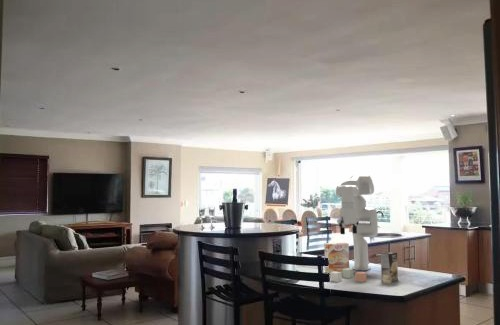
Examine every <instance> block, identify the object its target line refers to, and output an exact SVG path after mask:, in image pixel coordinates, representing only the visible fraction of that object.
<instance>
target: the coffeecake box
mask: <svg viewBox="0 0 500 325" xmlns="http://www.w3.org/2000/svg"><path fill="white" fill-rule="evenodd" d="M323 246H324V258H325V257H326V258H328V260H329V266H328V267H325V266H324V272H325V273H326V274H328V273H331V272H334V271H335V272H341V274H342V269H344V268H350V245H349V243H347V242H325V243H324V245H323Z"/></svg>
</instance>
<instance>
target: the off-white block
mask: <svg viewBox="0 0 500 325" xmlns="http://www.w3.org/2000/svg"><path fill="white" fill-rule="evenodd" d="M329 276H330V278H329V279H330V282H337V283H339V282H341V281H343V280H342V279H343V275H342V273H341V272H335V271H334V272H331V273H330V274H329Z"/></svg>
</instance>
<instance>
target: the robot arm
mask: <svg viewBox="0 0 500 325" xmlns="http://www.w3.org/2000/svg"><path fill="white" fill-rule="evenodd" d="M374 192H375V185H374V183H373V180H372V177H371V176H370V175H368V174H354V175H352V176H351V177H350V178H349V179H348V180H345V181H342V182H340V183H339V184H337V185H336V188H335V195H336V196H337V197H338V198H340V200H341V208H340V210H339V218H338V219H337V220H336V223H337V225H338V227H339V228H340V229H339V230H340V232H339V233H340V235H345V234H346V232H345V229H346V228H345V225H352V226H351V233H352V239H353V261H354V264H353V265H354V266H352V267H351V269H353V270H357V271H370V270H371V269H372V268H371V266H369V265H370V262H369V246H368V245H369V244H368V242H367V240H366V239H365V238H376V237H377V236H378V234H379V233H378V232H379V230H378V229H379V228H378V226H379V225H378V211H377V209H376V208H374V207H367V201H366V199H365V198H364V197H363V196H366V195H368V196H370V195H373V194H374ZM361 222H362V223H361ZM365 222H366V223H365ZM368 222H369V223H368Z"/></svg>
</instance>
